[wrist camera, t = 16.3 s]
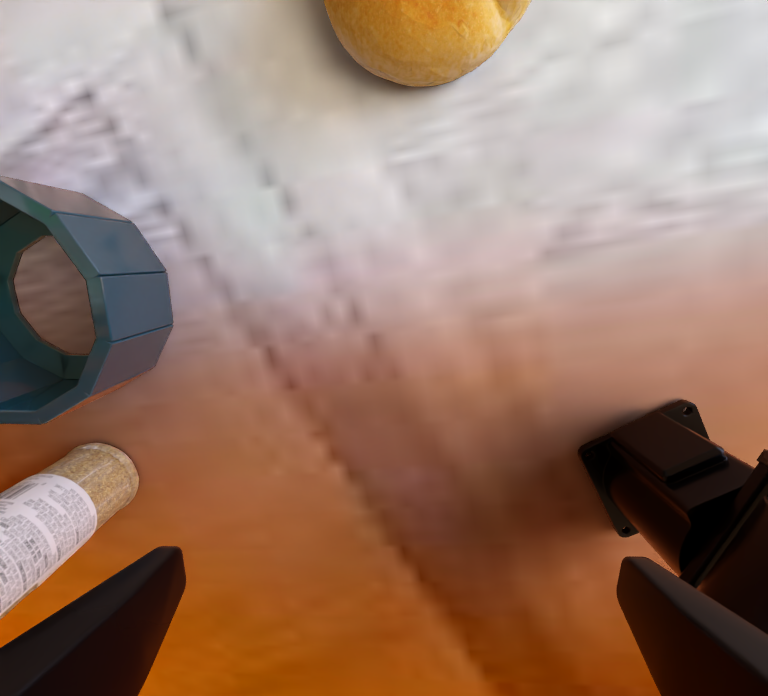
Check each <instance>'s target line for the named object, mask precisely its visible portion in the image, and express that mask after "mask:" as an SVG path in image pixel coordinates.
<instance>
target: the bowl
mask: <svg viewBox="0 0 768 696" xmlns="http://www.w3.org/2000/svg"><path fill="white" fill-rule="evenodd" d="M45 236H54V238H55V239H56V241H57V242H58V243H59V245H60V246H61V247H62V249H63V250H64V251H65V253H66V254H67V256H68V257H69V258H70V260H71V261H72V262H73V264H74V265H75V266H76V268H77V269H78V270H79V272H80V273H81V275H82V276H83V277H84V279H85V280H86V285H87V290H88V296H89V301H90V307H91V312H92V318H93V324H94V329H95V335H96V339H95V342H94V344H93V347H92V349H91V352H90V354H69V353H67V352H65V351H63V350H62V349H60V348H58V347H56V346H54V345H52V344H50V343H48V342H46V341H44V340H42V339H41V338H40V337H39V336H38V334H37V333H36V332H35V331H34V329H33V328H32V327H31V326H30V324H29V323H28V322H27V321H26V319H25V318H24V317H23V315H22V314H21V313H20V310H19V306H18V301H17V297H16V293H15V288H14V284H13V279H14V276H15V273H16V270H17V267H18V264H19V261H20V258H21V255H22V252H24V251H25V250H27V249H28V248H29V247H31V246H32V245H34V244H35V243H37V242H38V241H40V240H41V239H43V238H44V237H45ZM165 271H166V269H165V268H164V266H163V265H162V263H161V262H160V261H159V259H158V258H157V256H156V255H155V253H154V252H153V250H152V249H151V247H150V246H149V244H148V243H147V241H146V240H145V239H144V237H143V236H142V234H141V233H140V231H139V230H138V228H137V227H136V225H135V224H133V223H132V222H131V221H130V220H128V219H127V218H125V217H123V216H121V215H120V214H118V213H116V212H114V211H113V210H111V209H109V208H107V207H106V206H104V205H102V204H100V203H99V202H97V201H95V200H93V199H92V198H90V197H88V196H86V195H85V194H83V193H79V192H75V191H70V190H66V189H61V188H56V187H51V186H47V185H42V184H37V183H33V182H28V181H23V180H18V179H14V178H9V177H4V176H0V424H30V425H41V424H45V423H48V422H50V421H52V420H54V419H56V418H58V417H60V416H63V415H65V414H67V413H69V412H71V411H73V410H75V409H77V408H79V407H81V406H84V405H86V404H88V403H90V402H92V401H94V400H96V399H98V398H100V397H102V396H105V395H107V394H109V393H111V392H113V391H115V390H117V389H119V388H120V387H122V386H124V385H126V384H127V383H129V382H131V381H132V380H134V379H136V378H137V377H139V376H141V375H142V374H144V373H146V372H147V371H149V370H151V369H152V368H153V367H154V366H155V365H156V363H157V361H158V358H159V356H160V354H161V352H162V350H163V347H164V345H165V343H166V341H167V339H168V336H169V334H170V332H171V330H172V328H173V325H172V324H173V315H172V308H171V300H170V292H169V284H168V276H167V273H165Z"/></svg>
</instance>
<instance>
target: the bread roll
mask: <svg viewBox="0 0 768 696" xmlns="http://www.w3.org/2000/svg"><path fill="white" fill-rule="evenodd" d="M530 2H531V0H324V4H325V7H326V10H327V13H328V15H329V18H330V21H331V24H332V27H333V29H334V31H335V33H336V35H337V37H338V39H339V40H340V42H341V44H342V46H343V47H344V48H345V49H346V50H347V51H348V53H349V54H350V55H351V56H352V57H353V58H354V60H355V61H356V62H357V63H358V64H360V65H361V66H362V67H364V68H365V69H367V70H368V71H369V72H371V73H372V74H374V75H377V76H379V77H381V78H384V79H387V80H390V81H393V82H395V83H399V84H403V85H408V86H435V85H441V84H444V83H448V82H451V81H453V80H455V79H458V78H459V77H461V76H463V75H465V74H466V73H468V72H471V71H473V70H474V69H476V67H478V66H480V65H481V64H482V63H483V62H485V61H486V60H487V59H488V58H489V57H491V56H492V55H493V53H494V52H495V51H496V50H497V49H498V48H499V46H500V45H501V43H502V42H503V41H504V39H505V38H506V36H507V35H508V33H509V32H510V31H511V30H512V29H513V28H514V26H515V25H516V24H517V23H518V22H519V20H520V19H521V18H522V16H523V14H524V13H525V11H526V10H527V8H528V6H529V4H530Z"/></svg>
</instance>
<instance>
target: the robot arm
mask: <svg viewBox="0 0 768 696" xmlns="http://www.w3.org/2000/svg"><path fill="white" fill-rule="evenodd" d="M685 407H686V410H685V411H684V412H683V409H684V408H685ZM588 452H591V454H590V455H589V456H586V454H587V453H588ZM578 457H579V459H580V461H581V463H582V465H583V467H584V469H585V471H586V473H587V475H588V477H589V479H590V481H591V483H592V485H593V487H594V489H595V491H596V493H597V495H598V497H599V500H600V502H601V504H602V506H603V508H604V510H605V512H606V514H607V516H608V518H609V520H610V522H611V524H612V526H613V528H614V530H615V531H616V532H617V533H618V534H619V536H621V537H629V536H632V535H634V534H637V533H640V534H641V535H642V536H643V537H644V538H645V539H646V541H647V542H648V543H649V544H650V545H651V546H652V547H653V548H654V549H655V551H656V552H657V553H658V554H659V555H660V556H661V557H662V558H663V559H664V560H665V562H666V563H667V564H668V565H669V566H670V567H671V568H672V569H673V570H674V572H675V573H676V574H677V575H678V576H679V577H677V576H676V575H674V574H672V573H671V572H669V571H668V570H666V569H665V568H663V567H661V566H660V565H658V564H657V563H655V562H654V561H652V560H650V559H649V558H646V557H625V558H624V559H623V560H622V563H621V568H620V573H619V578H618V584H617V598H618V601H619V604H620V606H621V609H622V611H623V613H624V615H625V618H626V620H627V622H628V624H629V626H630V629H631V631H632V633H633V635H634V637H635V640H636V642H637V644H638V646H639V649H640V651H641V653H642V655H643V657H644V660H645V662H646V664H647V666H648V668H649V671H650V673H651V675H652V677H653V680H654V682H655V684H656V686H657V688H658V690H659V692H660V694H661V696H768V450H766V449H764V450H763V452H762V453H761V455H760V456H759V457H758V459H757V461H759V463H758V465H757V466H756V468H754V467H752V466H750V465H748V464H747V463H745V462H743V461H741V460H740V459H738V458H736V457H735V456H733V455H731V454H729V453H728V452H726V451H724V449H723V448H722V447H720V446H719V445H717V444H715V443H713V442H712V441H710V439H709V437H708V434H707V432H706V429H705V427H704V424H703V422H702V419H701V417H700V414H699V412H698V409H697V407H696V405H695V404H693V403H691V402H689V401H687V400H680V401H677V402H675V403H673V404H671V405H668V406H666V407H664V408H662V409H660V410H658V411H655V412H652V413H650V414H648V415H646V416H644V417H642V418H639V419H637V420H635V421H633V422H631V423H629V424H627V425H624V426H622V427H620V428H618V429H616V430H614V431H612V432H610V433H608V434H606V435H604V436H602V437H599V438H597V439H595V440H593V441H591V442H589V443H587V444H584V445H583V446H581V447H580V448H579V449H578ZM624 527H625V528H624ZM622 528H624V529H622ZM185 585H186V574H185V567H184V560H183V554H182V550H181V549H180V548H179V547H177V546H160V547H157V548H156V549H154V550H152V551H151V552H149V553H148V554H146V555H145V556H143V557H141V558H140V559H138V560H137V561H135V562H134V563H132V564H131V565H129V566H127V567H126V568H124V569H123V570H121V571H120V572H118V573H117V574H115V575H113V576H112V577H110V578H109V579H107V580H106V581H104V582H102V583H101V584H99V585H98V586H96V587H95V588H93V589H92V590H90V591H88V592H87V593H85V594H84V595H82V596H81V597H79V598H78V599H76V600H74V601H73V602H71V603H70V604H68V605H67V606H65V607H64V608H62V609H60V610H59V611H57V612H56V613H54V614H53V615H51V616H50V617H48V618H46V619H45V620H43V621H42V622H40V623H39V624H37V625H35V626H34V627H32V628H31V629H29V630H28V631H26V632H25V633H23V634H21V635H20V636H18V637H17V638H15V639H14V640H12V641H11V642H9V643H7V644H6V645H4V646H3V647H1V648H0V696H138V694H139V692H140V690H141V688H142V686H143V684H144V682H145V680H146V678H147V676H148V674H149V672H150V669H151V667H152V665H153V663H154V660H155V658H156V656H157V653H158V651H159V649H160V646H161V644H162V642H163V639H164V637H165V635H166V632H167V630H168V628H169V625H170V623H171V621H172V618H173V616H174V614H175V611H176V609H177V607H178V604H179V602H180V600H181V597H182V595H183V593H184V590H185Z"/></svg>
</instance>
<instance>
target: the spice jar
mask: <svg viewBox="0 0 768 696" xmlns="http://www.w3.org/2000/svg"><path fill="white" fill-rule="evenodd" d="M138 486H139V476H138V473H137V471H136V468H135V466H134V464H133V462H132V461H131V459H130V458H129V457H128V456H127V455H126V454H125V453H124V452H122V451H121V450H119V449H117V448H115V447H113V446H111V445H107V444H103V443H98V442H96V443H87V444H84V445H80V446H78V447H76V448H74V449H73V450H71V451H70V452H68V453H67V455H66V456H65V457H64V458H61V459H60V460H58V461H57V462H55V463H54V464H52V465H50V466H49V467H47V468H45V469H43V470H42V471H41V472H39V473H37V474H35V475H33V476H30V477H28V478H26V479H24V480H22V481H20V482H19V483H17V484H16V485H14V486H12V487H11V488H9V489H7V490H6V491H4V492H2V493H0V619H1V618H3V617H4V616H5V615H6V614H7V613H8V612H9V611H10V610H12V609H13V608H14V607H15V606H16V605H17V604H18V603H19V602H20V601H22V599H24V598H25V597H26V596H27V595H28V594H29V593H30V592H32V591H33V590H35V589H36V588H37V587H39V586H40V585H41V584H42V583H43V582H44V581H45V580H46V579H47V578H48V577H49V576H50V575H51V574H52V573H54V572H55V571H56V570H57V569H58V568H59V567H60V566H61V565H62V564H63V563H64V562H65V561H66V560H67V559H68V558H70V557H71V556H72V555H73V554H74V553H75V552H76V551H77V550H78V549H79V548H81V547H82V546H83V545H84V544H85V543H86V542H87V541H88V540H89V539H90V538H91V536H92V535H93V534H94V532H95V531H97V530H98V529H99V528H100V527H101V526H102V525H103V524H104V523H106V522H107V521H108V520H109V519H110V518H111V517H112V516H113V515H114V514H115V513H116V512H117V511H118V510H120V509H122V508H124V507H125V506H127V505H128V504H129V503H130V502H131V501H132V499H133V498H134V497H135V495H136V492H137V490H138Z"/></svg>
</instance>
